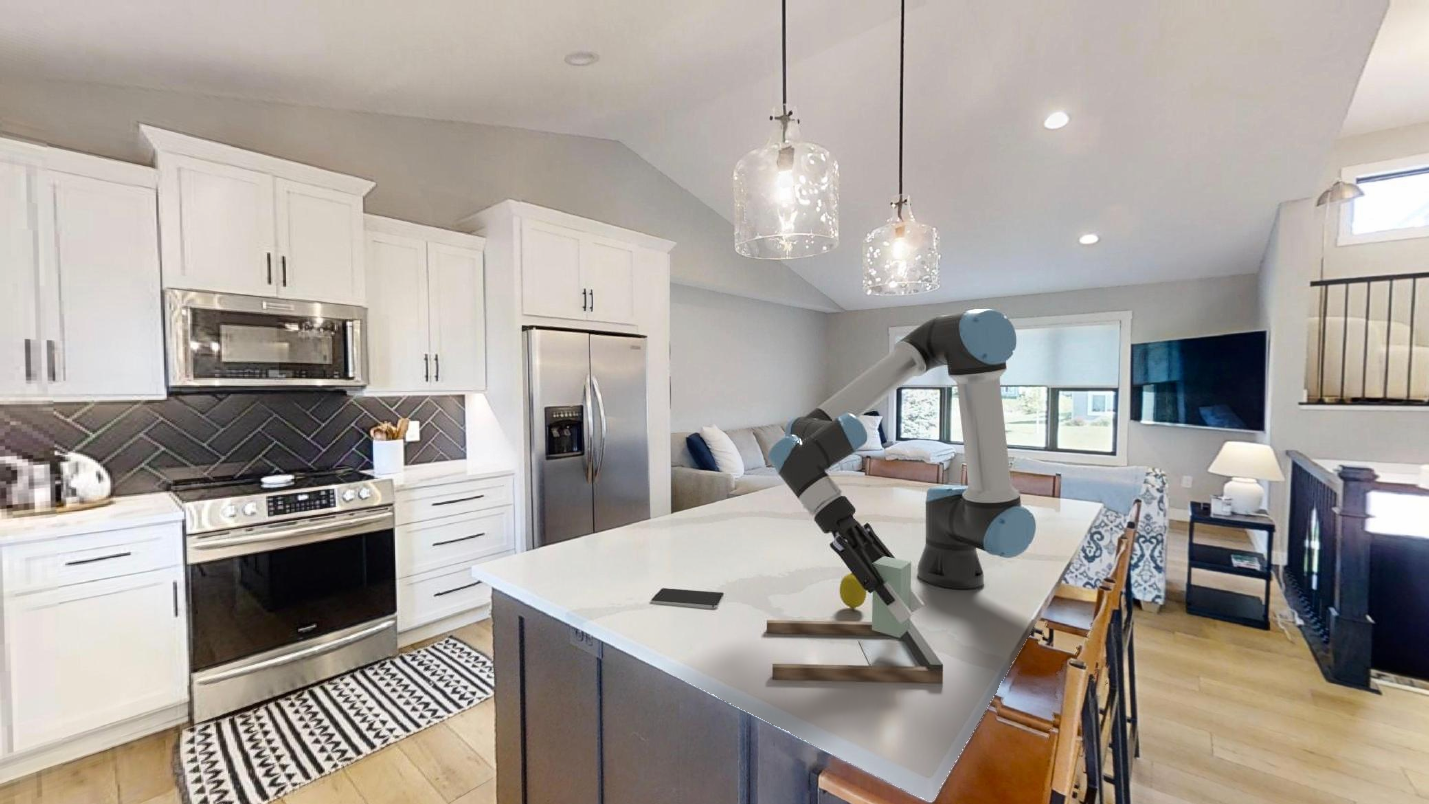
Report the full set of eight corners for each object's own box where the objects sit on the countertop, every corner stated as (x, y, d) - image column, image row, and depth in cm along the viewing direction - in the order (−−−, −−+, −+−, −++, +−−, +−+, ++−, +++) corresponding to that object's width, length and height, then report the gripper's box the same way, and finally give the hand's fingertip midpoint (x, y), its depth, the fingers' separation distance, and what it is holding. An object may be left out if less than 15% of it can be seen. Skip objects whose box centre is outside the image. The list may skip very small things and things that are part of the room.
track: (908, 632, 110) (908, 617, 110) (942, 682, 92) (943, 664, 92) (766, 630, 111) (766, 615, 111) (772, 679, 93) (772, 661, 93)
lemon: (851, 616, 117) (851, 578, 117) (834, 607, 122) (834, 570, 122) (871, 611, 120) (872, 574, 120) (853, 602, 125) (854, 566, 125)
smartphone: (661, 587, 132) (724, 592, 129) (661, 592, 132) (724, 597, 129) (650, 600, 124) (716, 605, 121) (650, 606, 124) (717, 611, 121)
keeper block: (882, 620, 104) (883, 556, 104) (909, 628, 101) (911, 561, 101) (871, 629, 100) (873, 562, 100) (899, 637, 97) (901, 568, 97)
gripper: (836, 509, 117) (914, 608, 107) (791, 526, 102) (877, 642, 93) (861, 487, 113) (944, 587, 104) (818, 501, 99) (910, 619, 89)
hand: (912, 613), depth 98 cm, fingers closed on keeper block, 5 cm apart
